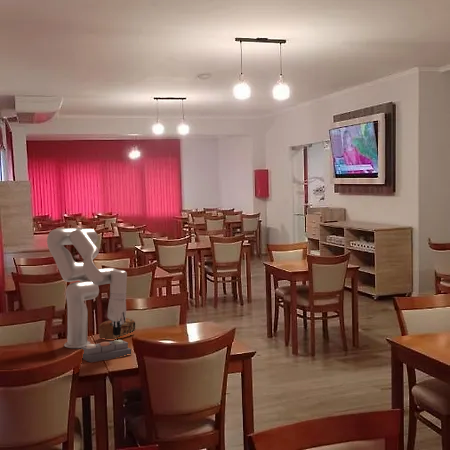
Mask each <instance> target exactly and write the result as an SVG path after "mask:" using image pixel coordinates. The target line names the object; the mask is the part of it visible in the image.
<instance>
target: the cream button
mask: <svg viewBox="0 0 450 450" xmlns="http://www.w3.org/2000/svg"><path fill="white" fill-rule="evenodd" d="M96 344H97V343H90V344H88V345H87V348H95V347H96Z"/></svg>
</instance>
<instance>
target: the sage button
mask: <svg viewBox="0 0 450 450" xmlns="http://www.w3.org/2000/svg"><path fill="white" fill-rule="evenodd" d="M123 341H124V340H122V339H118V340H117V339H116V340H114V343H115V344H119V343H123Z"/></svg>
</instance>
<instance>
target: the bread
mask: <svg viewBox="0 0 450 450" xmlns="http://www.w3.org/2000/svg"><path fill="white" fill-rule="evenodd" d="M113 327H114V326H113V324H112V321H111V320H110V319H108V320H104V321H103V322H101V323H100V324H99V326H98V337H99V339H100V338H105V339H115V338H118V337H120V336H123V335H126V334H128V333H131V332H133V331H136V321H135V320H133V318H132V319H131V318H128V317H126V320H125V321H124V324H122V325H121V333H120V335H116V336H115V335H113Z"/></svg>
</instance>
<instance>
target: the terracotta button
mask: <svg viewBox="0 0 450 450" xmlns="http://www.w3.org/2000/svg"><path fill="white" fill-rule="evenodd" d="M109 342H110V341H102V342H100V345H101V346H107V345H110V343H109Z"/></svg>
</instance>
